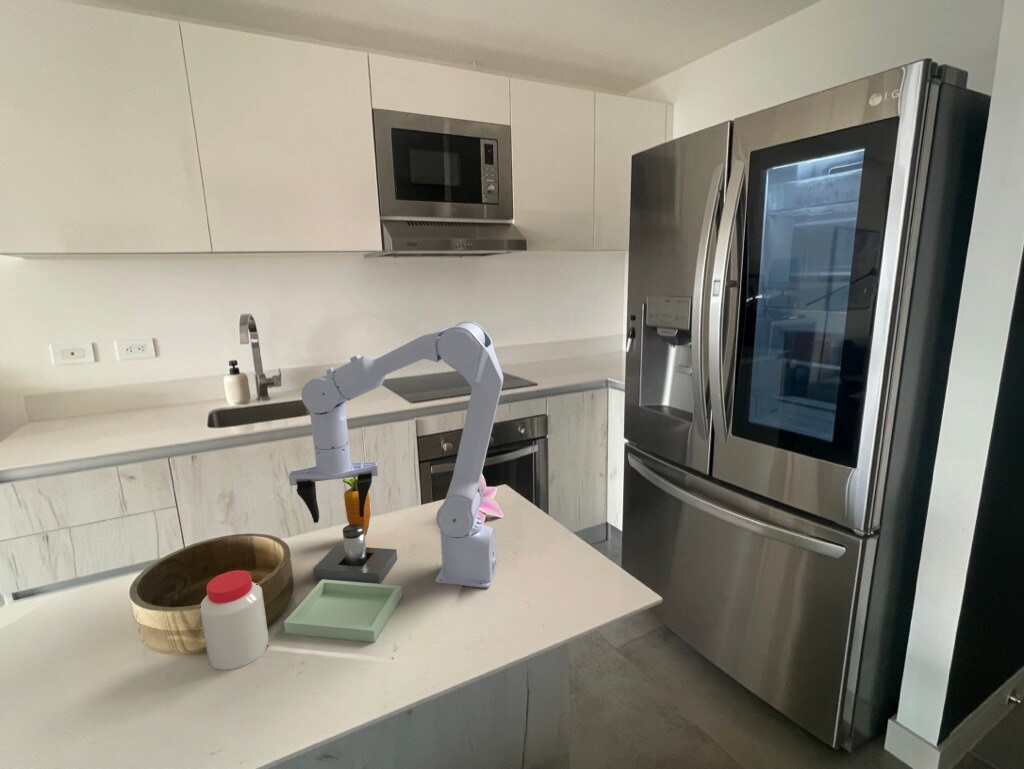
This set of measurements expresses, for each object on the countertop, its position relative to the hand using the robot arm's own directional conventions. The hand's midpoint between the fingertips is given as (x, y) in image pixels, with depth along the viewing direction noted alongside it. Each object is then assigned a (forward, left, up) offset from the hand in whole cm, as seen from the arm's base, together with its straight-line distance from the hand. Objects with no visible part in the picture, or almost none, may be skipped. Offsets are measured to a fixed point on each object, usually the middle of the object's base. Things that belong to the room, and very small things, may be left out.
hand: (339, 517), depth 93 cm
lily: (-20, -22, -10) cm, 32 cm away
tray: (-7, +13, -10) cm, 18 cm away
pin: (-3, +1, -10) cm, 10 cm away
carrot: (+1, -9, -10) cm, 14 cm away
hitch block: (-3, +1, -10) cm, 10 cm away
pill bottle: (+5, +22, -10) cm, 25 cm away
